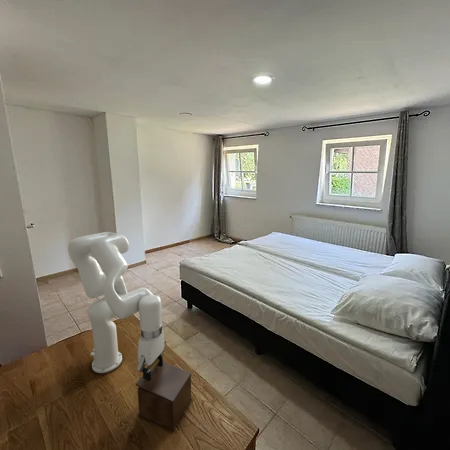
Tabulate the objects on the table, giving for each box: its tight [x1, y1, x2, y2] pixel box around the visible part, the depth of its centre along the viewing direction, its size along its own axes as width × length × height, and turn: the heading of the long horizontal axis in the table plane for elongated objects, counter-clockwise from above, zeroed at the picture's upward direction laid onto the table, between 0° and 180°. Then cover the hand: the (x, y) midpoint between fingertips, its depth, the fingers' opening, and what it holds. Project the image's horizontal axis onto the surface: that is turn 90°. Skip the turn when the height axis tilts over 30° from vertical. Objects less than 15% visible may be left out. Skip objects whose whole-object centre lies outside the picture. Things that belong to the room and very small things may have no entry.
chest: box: [137, 374, 192, 431], centre depth 91 cm, size 15×13×12 cm
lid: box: [135, 358, 192, 403], centre depth 89 cm, size 15×13×5 cm
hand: (153, 371), depth 91 cm, fingers open, 6 cm apart
